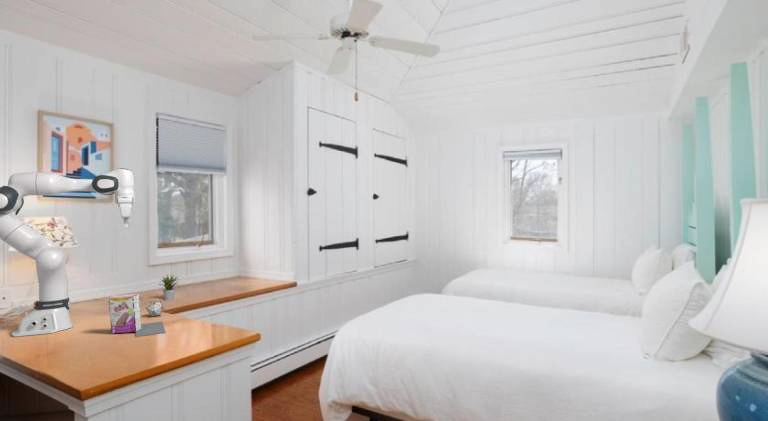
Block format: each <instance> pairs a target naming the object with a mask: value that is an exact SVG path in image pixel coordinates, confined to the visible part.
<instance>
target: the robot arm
mask: <svg viewBox="0 0 768 421" xmlns="http://www.w3.org/2000/svg"><path fill="white" fill-rule="evenodd" d="M70 192H93V193H98V194H100V195H103V196H111V195H114V201H115V202H114V204H115V205H116V204H117V206H118V208H119V211H120V215H121V216H120V217H121V218H122V219H123V226H124V228H129V226H130V224H129V221H130V219H131V213H132V207H133V206H134V205H133V204H136V193H135V177H134V173H133V171H132V170H130V169H128V168H123V167H115V169H113V170H111V171H109V172H106V173H103V174H99V175H97V176H95V177H94V178H91V179H90V178H89V179H88V178H73V177H72V178H71V177H67V176H63V175H61V174H58V173H52V172H45V171H43V172H42V171H30V172H28V171H26V172H17V173H13V174H11V175H10V176H9V178H8V180H7V185H3V186H0V240H2V242H4V243H6V244H7V245H8V246H10V247H12V248H13V249H14V250H16V251H17V252H19V253H21V254H23V255H25V256H26V257H29V258H30V259H32V260H33V261H35V268H36V275H37V282H38V300H35V301H34V303H33V310H32V311H30V312H29V313H27V315H25V316H24V317H22V319H20V320H19V323H18V325H17V326H18V327H17V329H16V330H14V331H12V333H11V337H13V338H15V337H27V336H37V335H45V334H53V333H58V332H60V331H64V330H68V329H70V328H73V327H74V325H73V322H72V319H71V315H70V307H71V306H70V304H71V303H70V297H69V283H68V282H69V281H68V275H67V267H66V265H67V264H68V262H69V260H70V255H69V253H68V251H67V250H66V249H64V248H63V247H62V246H60V245H58V243H55V242H54V241H52V240H50V239H49V238H47V237H45V235H42V234H41V233H39V232H38V231H36V230H35V229H34V228H32V227H31V226H30V225H28V224H26V223H25V222H24V221H23V220H21V219H20V218H19V217H17V215H18V214H19V212H20V211H21V209H22V208H23V206H24V204H25V203H24V202H25V201H24V200H25V199H24V198H25V197H28V196H52V195H57V194H65V193H70Z"/></svg>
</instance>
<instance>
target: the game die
mask: <svg viewBox="0 0 768 421" xmlns="http://www.w3.org/2000/svg"><path fill="white" fill-rule="evenodd" d="M149 302H150V303H149V305H148V306H147V308H145V310H146V311H147V312H148V314H149V317H148V318H151V317H154V316H159V317H162V316H161V314H162V312H163V311H164V310H166V308H164V306H163V305H162V300H160V301H154V302H153V301H151V300H150V301H149Z"/></svg>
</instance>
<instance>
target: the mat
mask: <svg viewBox="0 0 768 421" xmlns="http://www.w3.org/2000/svg"><path fill="white" fill-rule="evenodd" d="M161 334H166V329H165V326H164V322H163V321H156V322H155V321H154V322H147V323H141V330H139V331H137V332H135V338H139V337H146V336H153V335H154V336H155V335H161Z"/></svg>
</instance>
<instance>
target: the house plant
mask: <svg viewBox="0 0 768 421" xmlns="http://www.w3.org/2000/svg"><path fill="white" fill-rule="evenodd" d="M180 277H181V276H174V275H173V274H171V275H170V278H169V275H168V274H166V276H165V277H164V276H162V279H161V278H159V280H160V281H161V282H162V283H163V284H161V283H159V284H158V286H163V287H164V289H162V293H163V297H164V300H165V301H169V300H170V301H172V300H174V298H175V295H176V294H175V293H176V288H174V287H175V285H178V280H180V279H179V278H180ZM176 281H177V282H176Z"/></svg>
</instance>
